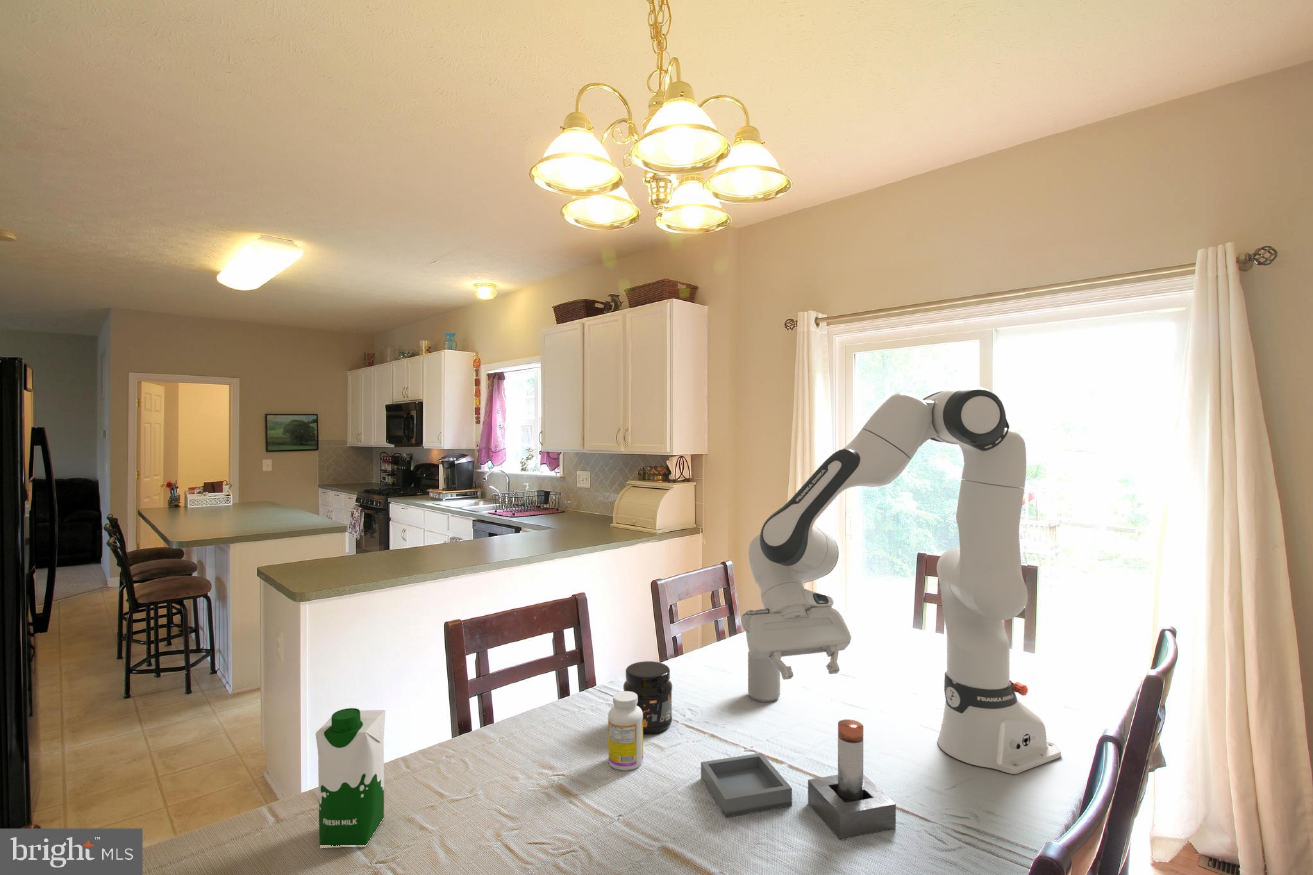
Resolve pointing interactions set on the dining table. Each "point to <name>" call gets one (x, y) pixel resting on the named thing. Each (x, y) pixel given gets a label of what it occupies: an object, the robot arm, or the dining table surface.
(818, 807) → the socket
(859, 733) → the pin
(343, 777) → the milk carton
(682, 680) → the dining table surface
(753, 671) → the can
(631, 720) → the supplement bottle
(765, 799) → the tray
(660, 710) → the supplement container
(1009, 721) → the robot arm
